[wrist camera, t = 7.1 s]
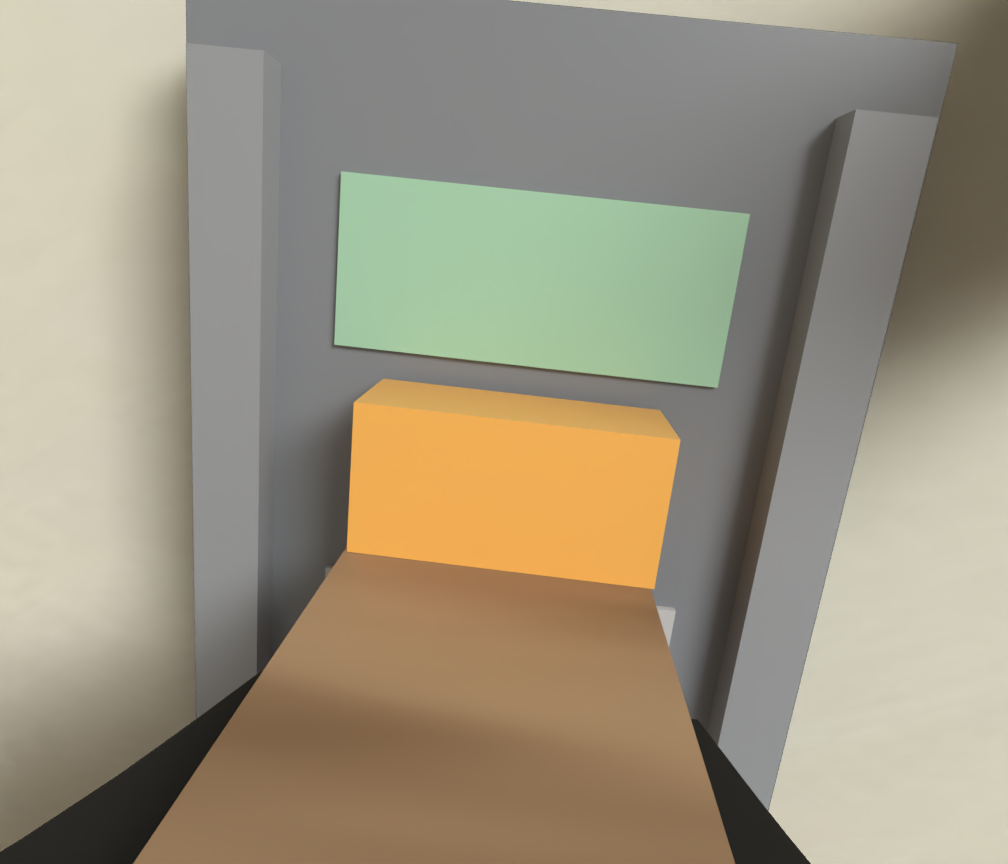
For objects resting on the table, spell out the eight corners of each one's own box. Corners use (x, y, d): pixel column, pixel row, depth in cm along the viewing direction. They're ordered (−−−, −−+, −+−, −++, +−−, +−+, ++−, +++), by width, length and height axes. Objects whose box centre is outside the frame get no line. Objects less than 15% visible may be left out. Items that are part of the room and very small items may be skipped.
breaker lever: (638, 539, 10) (654, 589, 9) (375, 507, 11) (347, 551, 9) (660, 409, 10) (681, 440, 8) (383, 378, 10) (353, 402, 8)
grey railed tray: (718, 819, 14) (754, 939, 12) (244, 755, 15) (182, 860, 12) (883, 80, 11) (986, 29, 8) (248, 18, 11) (160, -50, 9)
